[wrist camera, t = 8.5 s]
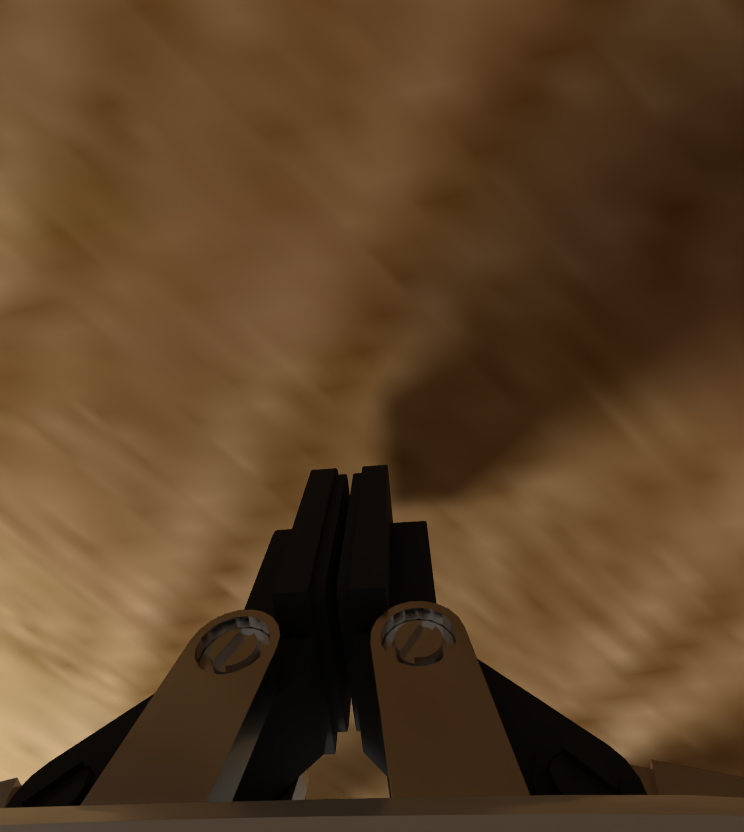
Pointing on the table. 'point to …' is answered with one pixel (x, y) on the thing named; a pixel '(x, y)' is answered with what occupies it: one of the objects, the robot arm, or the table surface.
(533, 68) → the table surface
